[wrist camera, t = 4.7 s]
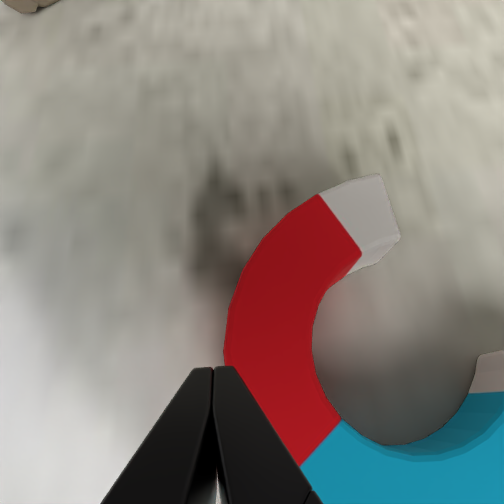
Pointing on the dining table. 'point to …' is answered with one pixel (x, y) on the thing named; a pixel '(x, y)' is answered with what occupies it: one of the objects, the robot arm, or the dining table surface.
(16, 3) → the futuristic pistol
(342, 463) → the magnet
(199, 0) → the dining table surface
